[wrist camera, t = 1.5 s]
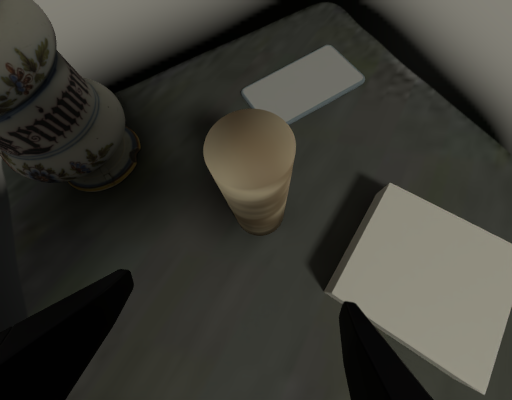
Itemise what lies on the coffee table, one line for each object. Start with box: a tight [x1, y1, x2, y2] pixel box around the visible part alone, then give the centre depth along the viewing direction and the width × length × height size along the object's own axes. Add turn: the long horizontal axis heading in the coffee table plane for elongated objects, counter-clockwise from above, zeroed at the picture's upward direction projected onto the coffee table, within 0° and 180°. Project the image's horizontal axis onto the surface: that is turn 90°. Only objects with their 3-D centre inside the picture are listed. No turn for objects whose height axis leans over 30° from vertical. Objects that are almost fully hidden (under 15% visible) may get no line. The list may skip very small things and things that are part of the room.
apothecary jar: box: [0, 0, 141, 192], centre depth 20 cm, size 12×12×18 cm
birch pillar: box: [203, 109, 296, 236], centre depth 19 cm, size 5×5×13 cm
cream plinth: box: [324, 183, 512, 395], centre depth 20 cm, size 12×12×3 cm
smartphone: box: [241, 45, 365, 125], centre depth 30 cm, size 8×1×15 cm
